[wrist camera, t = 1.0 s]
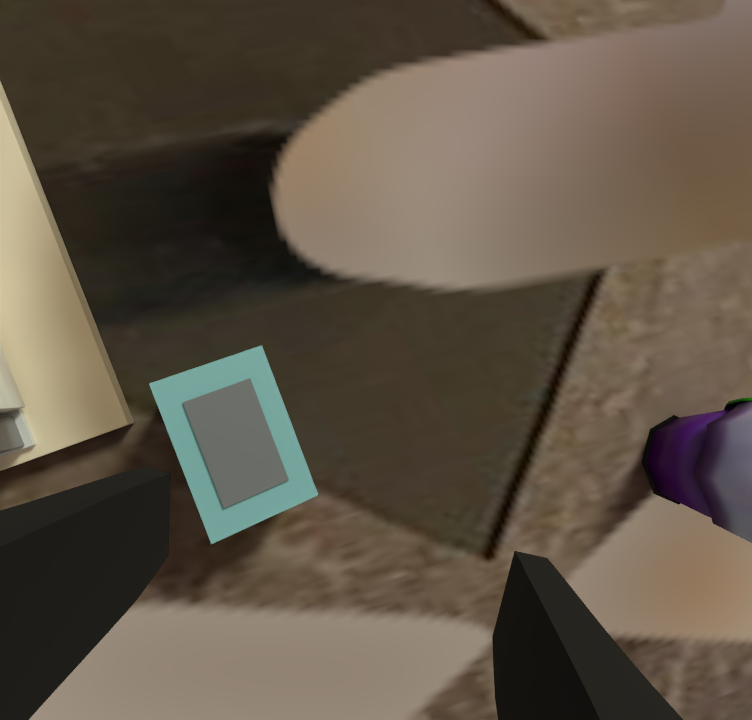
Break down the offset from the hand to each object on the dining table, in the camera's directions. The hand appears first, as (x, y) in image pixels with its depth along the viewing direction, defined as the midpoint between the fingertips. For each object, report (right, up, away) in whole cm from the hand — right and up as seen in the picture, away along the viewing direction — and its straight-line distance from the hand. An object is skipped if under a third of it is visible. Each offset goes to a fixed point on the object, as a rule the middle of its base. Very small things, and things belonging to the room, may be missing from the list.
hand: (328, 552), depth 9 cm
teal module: (-5, +1, +12) cm, 13 cm away
